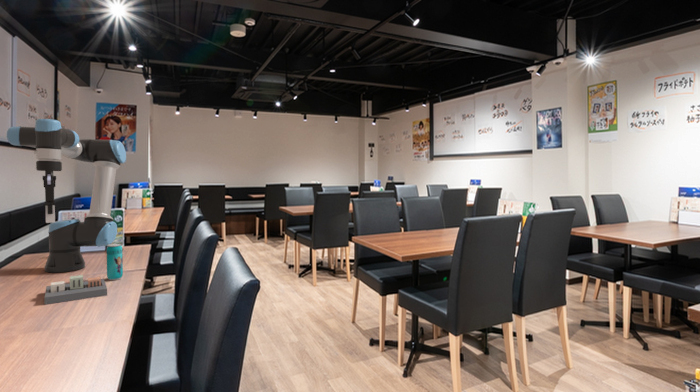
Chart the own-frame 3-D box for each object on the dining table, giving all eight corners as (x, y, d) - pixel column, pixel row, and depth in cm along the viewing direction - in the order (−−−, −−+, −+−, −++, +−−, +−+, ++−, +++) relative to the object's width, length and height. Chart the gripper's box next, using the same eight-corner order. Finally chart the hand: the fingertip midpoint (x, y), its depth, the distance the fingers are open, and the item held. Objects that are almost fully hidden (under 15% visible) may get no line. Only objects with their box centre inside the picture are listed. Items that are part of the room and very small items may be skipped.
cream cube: (51, 293, 135) (50, 282, 135) (64, 291, 137) (64, 280, 137) (50, 296, 132) (50, 285, 132) (64, 294, 134) (64, 283, 134)
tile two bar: (69, 287, 138) (69, 276, 138) (83, 285, 141) (82, 274, 141) (69, 289, 135) (69, 279, 135) (83, 287, 137) (83, 277, 137)
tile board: (46, 292, 139) (46, 286, 139) (103, 284, 150) (103, 278, 150) (44, 304, 126) (44, 297, 126) (107, 295, 137) (107, 288, 137)
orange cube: (87, 288, 142) (87, 278, 142) (100, 286, 144) (100, 276, 144) (88, 291, 138) (88, 280, 138) (101, 289, 141) (101, 278, 141)
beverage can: (115, 281, 155) (114, 246, 154) (103, 280, 156) (103, 245, 156) (126, 277, 161) (125, 243, 160) (114, 276, 162) (114, 243, 161)
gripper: (37, 160, 142) (38, 221, 143) (34, 159, 132) (36, 224, 133) (61, 161, 147) (63, 220, 148) (61, 160, 137) (62, 223, 138)
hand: (50, 222), depth 141 cm, fingers closed
